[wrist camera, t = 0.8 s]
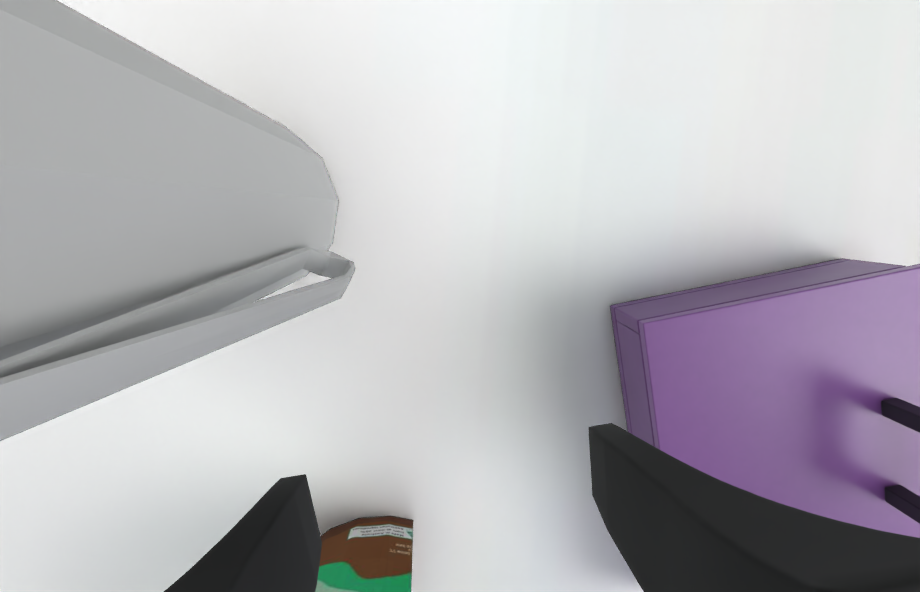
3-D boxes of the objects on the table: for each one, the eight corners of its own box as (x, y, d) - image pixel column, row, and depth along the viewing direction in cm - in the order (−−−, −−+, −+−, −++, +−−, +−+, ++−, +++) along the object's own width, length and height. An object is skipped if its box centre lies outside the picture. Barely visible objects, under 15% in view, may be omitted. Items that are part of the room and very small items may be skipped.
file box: (842, 258, 23) (907, 265, 20) (857, 541, 25) (916, 587, 22) (609, 305, 23) (637, 320, 19) (649, 584, 25) (679, 637, 22)
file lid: (920, 263, 20) (1054, 277, 15) (928, 586, 22) (1043, 674, 18) (637, 320, 19) (693, 351, 15) (679, 638, 22) (737, 740, 18)
